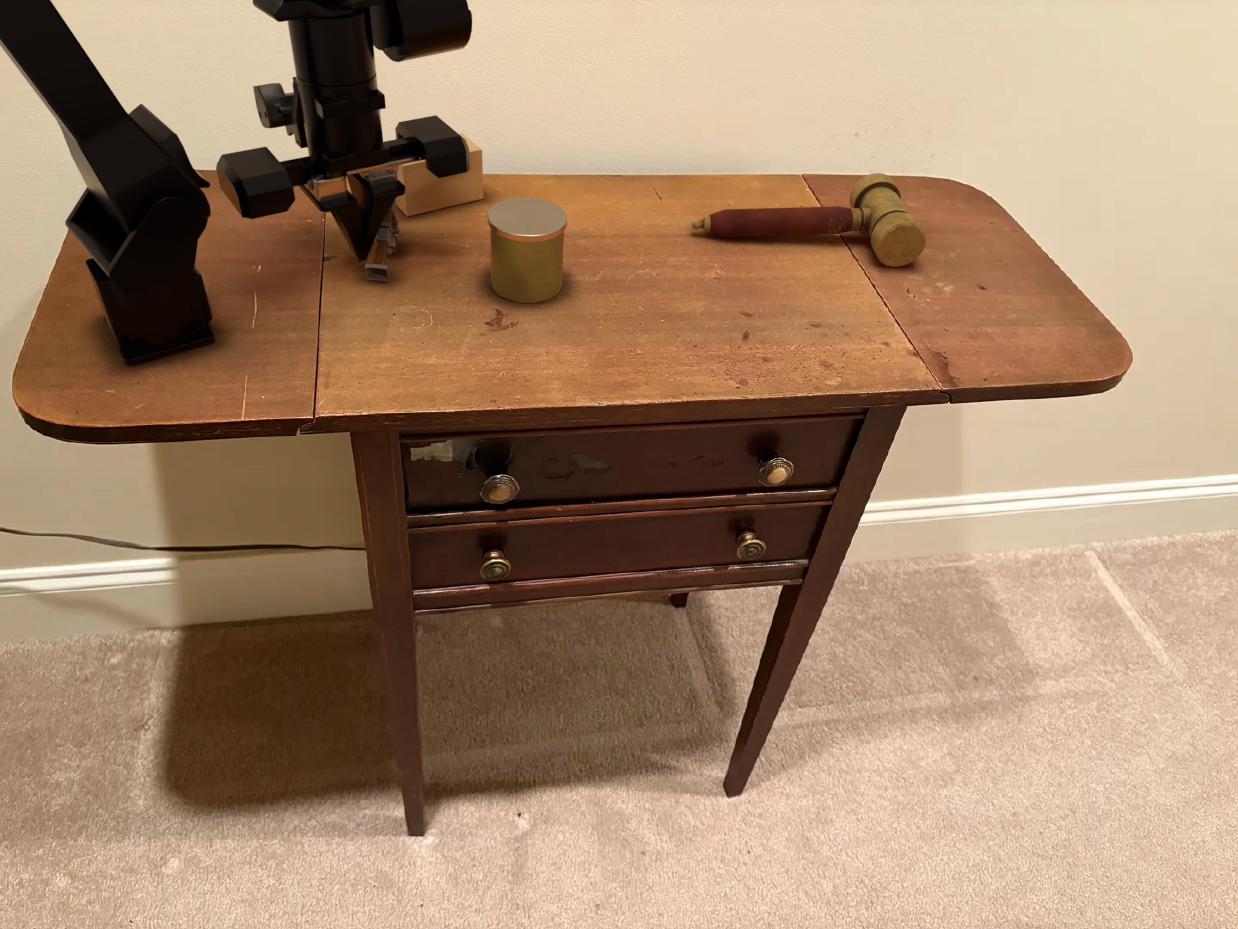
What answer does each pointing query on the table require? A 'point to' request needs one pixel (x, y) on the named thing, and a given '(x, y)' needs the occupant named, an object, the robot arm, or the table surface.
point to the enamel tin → (527, 249)
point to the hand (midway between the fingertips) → (360, 258)
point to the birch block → (440, 185)
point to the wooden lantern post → (384, 247)
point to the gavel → (835, 221)
